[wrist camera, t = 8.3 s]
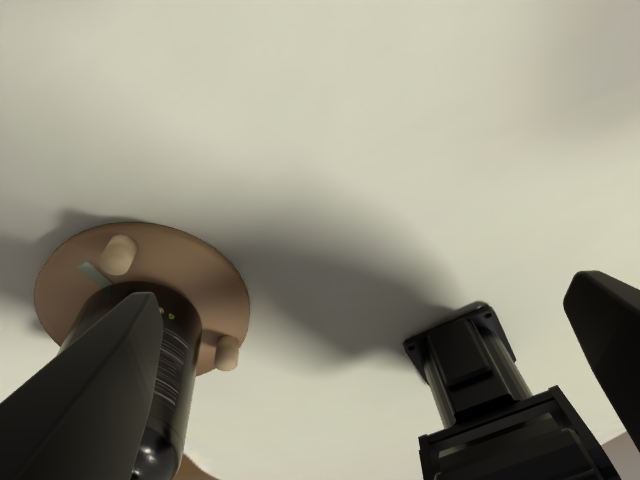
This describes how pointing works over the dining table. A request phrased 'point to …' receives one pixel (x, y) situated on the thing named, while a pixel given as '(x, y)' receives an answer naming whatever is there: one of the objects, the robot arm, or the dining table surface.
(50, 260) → the dowel base
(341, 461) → the dining table surface
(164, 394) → the supplement bottle
